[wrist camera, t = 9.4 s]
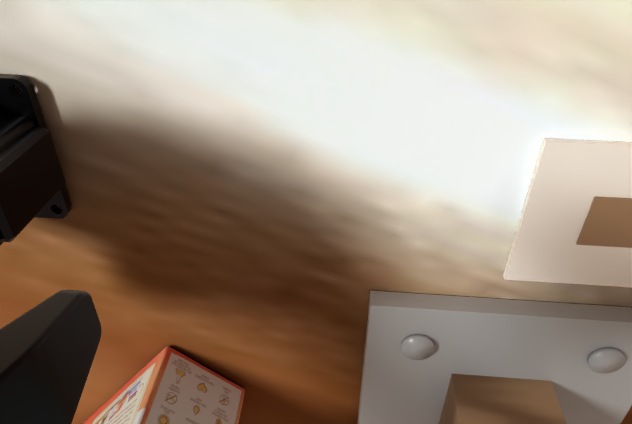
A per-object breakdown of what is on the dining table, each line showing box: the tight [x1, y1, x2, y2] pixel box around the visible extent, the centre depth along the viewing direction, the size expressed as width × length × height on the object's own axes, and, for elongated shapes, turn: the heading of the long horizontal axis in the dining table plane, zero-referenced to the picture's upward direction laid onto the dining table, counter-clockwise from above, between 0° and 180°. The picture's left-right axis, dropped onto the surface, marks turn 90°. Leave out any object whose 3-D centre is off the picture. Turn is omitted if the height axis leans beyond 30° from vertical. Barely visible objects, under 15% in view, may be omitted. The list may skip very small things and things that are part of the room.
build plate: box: [357, 290, 632, 424], centre depth 28 cm, size 14×14×1 cm
